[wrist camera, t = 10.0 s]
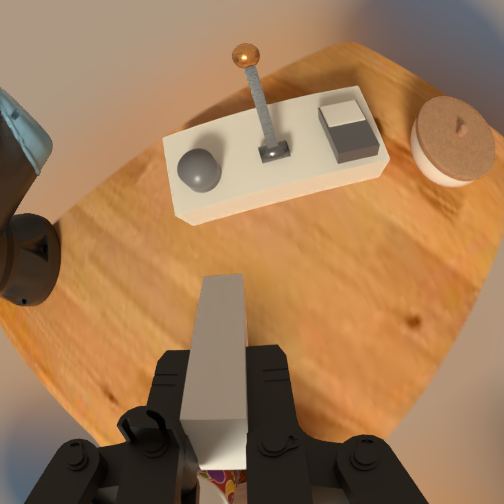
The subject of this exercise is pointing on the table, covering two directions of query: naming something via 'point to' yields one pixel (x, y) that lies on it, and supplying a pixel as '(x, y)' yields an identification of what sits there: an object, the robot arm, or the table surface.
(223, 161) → the console
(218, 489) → the smoothie
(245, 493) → the supplement box
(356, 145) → the block
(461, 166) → the lidded jar
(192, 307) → the table surface
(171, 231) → the table surface
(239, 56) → the lever
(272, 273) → the table surface
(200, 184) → the button
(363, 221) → the table surface
